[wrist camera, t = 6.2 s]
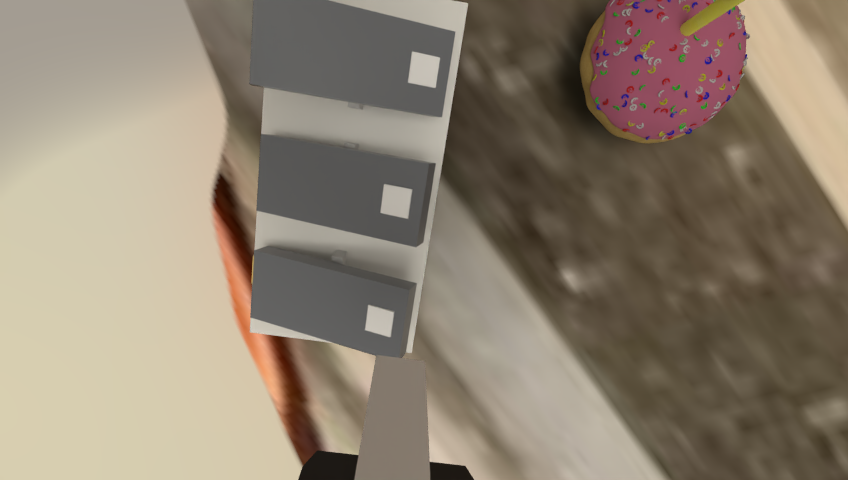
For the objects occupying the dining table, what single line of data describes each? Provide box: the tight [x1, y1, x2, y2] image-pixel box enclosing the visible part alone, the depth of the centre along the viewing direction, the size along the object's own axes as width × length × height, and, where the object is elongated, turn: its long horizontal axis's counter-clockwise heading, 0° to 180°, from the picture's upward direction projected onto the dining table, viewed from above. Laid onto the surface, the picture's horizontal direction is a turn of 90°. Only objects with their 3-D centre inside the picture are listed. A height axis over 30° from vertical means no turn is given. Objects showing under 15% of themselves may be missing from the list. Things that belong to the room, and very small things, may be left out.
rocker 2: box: [257, 134, 436, 247], centre depth 21 cm, size 4×9×1 cm, turn 81°
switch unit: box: [250, 0, 468, 353], centre depth 25 cm, size 20×10×6 cm, turn 171°
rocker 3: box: [251, 246, 417, 358], centre depth 23 cm, size 4×9×1 cm, turn 81°
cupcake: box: [580, 0, 750, 143], centre depth 21 cm, size 9×8×12 cm
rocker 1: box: [249, 0, 455, 117], centre depth 20 cm, size 4×9×1 cm, turn 81°
